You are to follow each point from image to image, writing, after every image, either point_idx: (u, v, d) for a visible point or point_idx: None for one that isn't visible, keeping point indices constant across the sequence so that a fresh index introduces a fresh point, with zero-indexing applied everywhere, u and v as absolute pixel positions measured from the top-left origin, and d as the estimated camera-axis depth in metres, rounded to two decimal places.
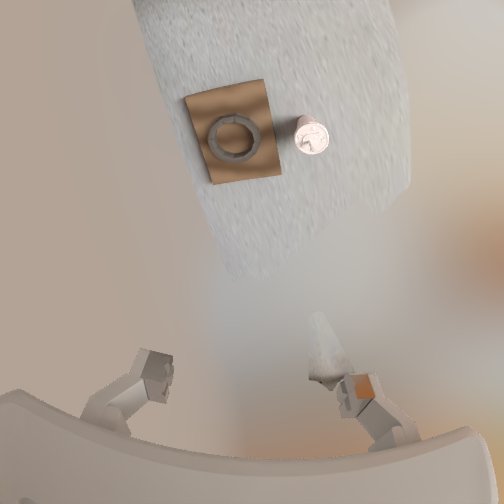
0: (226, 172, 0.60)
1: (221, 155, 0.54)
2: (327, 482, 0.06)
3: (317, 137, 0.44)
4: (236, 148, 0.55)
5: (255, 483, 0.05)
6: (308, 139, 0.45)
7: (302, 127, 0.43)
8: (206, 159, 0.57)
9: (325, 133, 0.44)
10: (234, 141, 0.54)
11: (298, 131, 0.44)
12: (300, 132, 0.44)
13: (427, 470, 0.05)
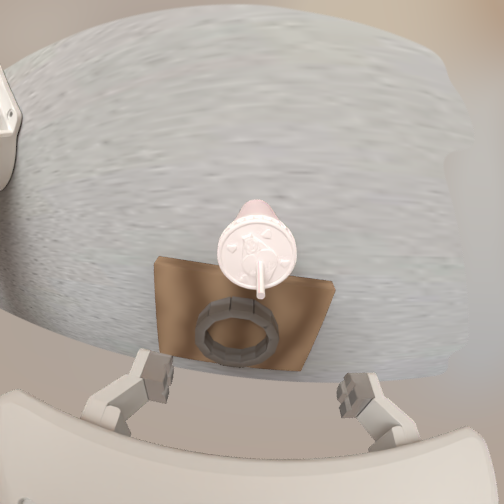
0: (290, 354, 0.37)
1: (254, 360, 0.34)
2: (327, 482, 0.06)
3: (255, 245, 0.21)
4: (258, 333, 0.35)
5: (255, 483, 0.05)
6: (254, 265, 0.21)
7: (223, 267, 0.22)
8: (258, 366, 0.39)
9: (250, 224, 0.20)
10: (245, 332, 0.35)
11: (230, 277, 0.22)
12: (234, 274, 0.22)
13: (427, 470, 0.05)
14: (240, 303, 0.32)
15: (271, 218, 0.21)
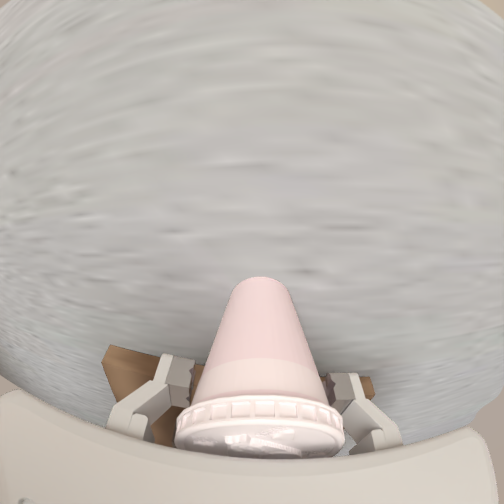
0: None
1: None
2: (327, 482, 0.06)
3: (255, 449, 0.07)
4: None
5: (255, 483, 0.05)
6: None
7: None
8: None
9: (244, 425, 0.07)
10: None
11: None
12: None
13: (427, 470, 0.05)
14: None
15: (298, 402, 0.07)
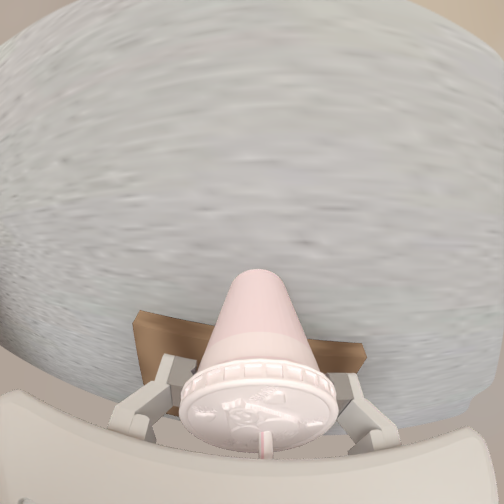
0: None
1: None
2: (327, 482, 0.06)
3: (251, 416, 0.08)
4: None
5: (255, 483, 0.05)
6: (254, 436, 0.09)
7: (197, 434, 0.10)
8: None
9: (236, 387, 0.08)
10: None
11: (214, 443, 0.10)
12: (221, 441, 0.10)
13: (427, 470, 0.05)
14: None
15: (283, 364, 0.08)
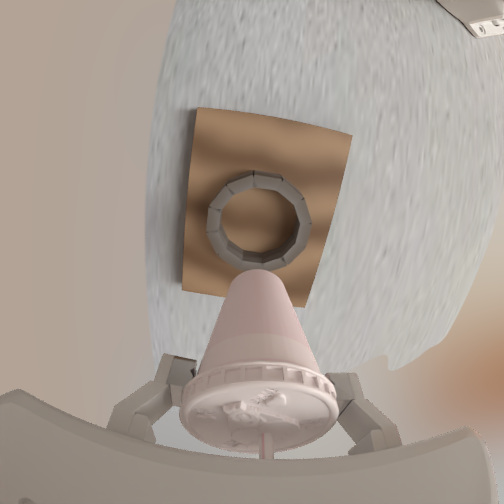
0: (213, 277, 0.33)
1: (222, 247, 0.28)
2: (327, 482, 0.06)
3: (252, 418, 0.08)
4: (250, 242, 0.31)
5: (255, 483, 0.05)
6: (255, 437, 0.09)
7: (198, 436, 0.09)
8: (186, 242, 0.31)
9: (237, 390, 0.08)
10: (252, 228, 0.30)
11: (215, 444, 0.10)
12: (221, 442, 0.10)
13: (427, 470, 0.05)
14: None
15: (284, 366, 0.08)
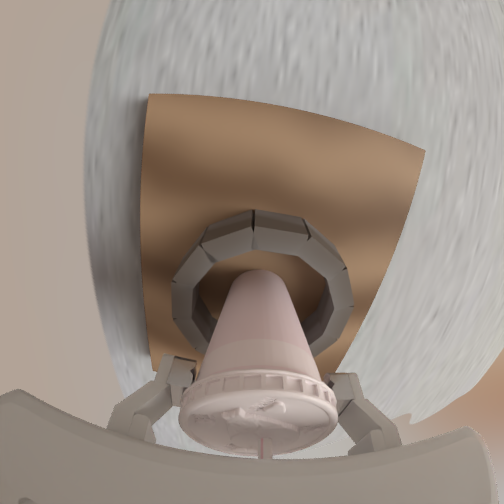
0: None
1: (200, 340, 0.16)
2: (327, 482, 0.06)
3: (251, 424, 0.08)
4: None
5: (255, 483, 0.05)
6: (254, 441, 0.09)
7: (197, 439, 0.09)
8: (149, 317, 0.19)
9: (235, 398, 0.08)
10: None
11: (214, 447, 0.10)
12: (221, 445, 0.10)
13: (427, 470, 0.05)
14: None
15: (284, 374, 0.08)
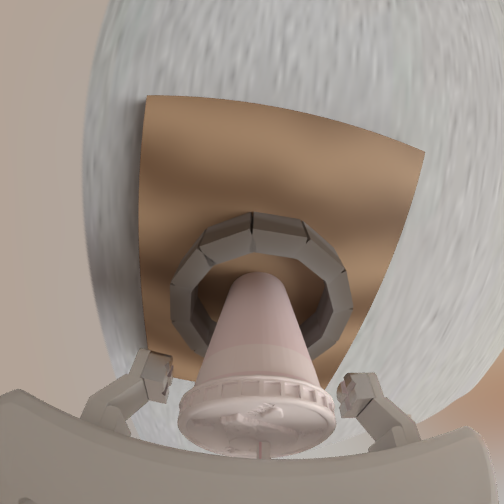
0: (192, 363, 0.21)
1: (199, 342, 0.16)
2: (327, 482, 0.06)
3: (249, 429, 0.08)
4: None
5: (255, 483, 0.05)
6: (252, 445, 0.09)
7: (196, 442, 0.09)
8: (148, 320, 0.19)
9: (234, 404, 0.08)
10: None
11: (213, 450, 0.10)
12: (220, 448, 0.10)
13: (427, 470, 0.05)
14: None
15: (281, 381, 0.08)
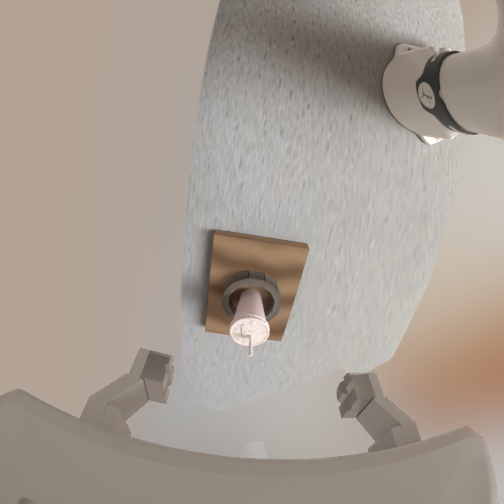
0: (224, 324, 0.53)
1: (230, 313, 0.49)
2: (327, 482, 0.06)
3: (247, 328, 0.41)
4: None
5: (255, 483, 0.05)
6: (248, 336, 0.41)
7: (233, 338, 0.42)
8: (208, 306, 0.51)
9: (244, 320, 0.40)
10: None
11: (237, 341, 0.42)
12: (239, 340, 0.42)
13: (427, 470, 0.05)
14: None
15: (254, 315, 0.41)
